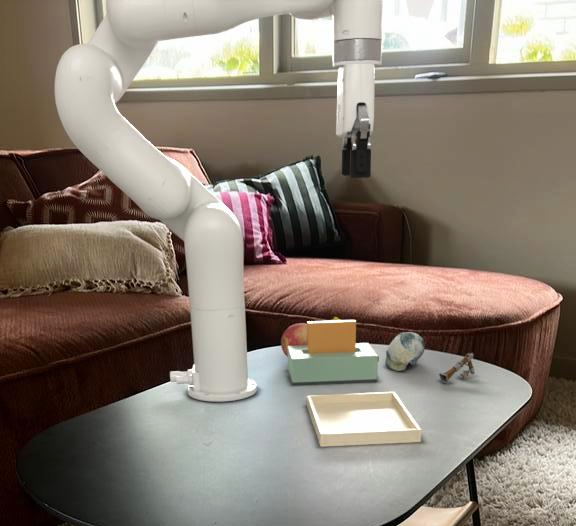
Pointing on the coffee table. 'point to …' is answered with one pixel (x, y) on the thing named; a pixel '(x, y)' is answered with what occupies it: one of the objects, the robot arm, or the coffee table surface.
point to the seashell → (404, 350)
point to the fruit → (294, 336)
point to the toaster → (332, 366)
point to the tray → (362, 419)
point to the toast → (331, 336)
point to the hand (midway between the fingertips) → (355, 176)
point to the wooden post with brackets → (457, 366)
